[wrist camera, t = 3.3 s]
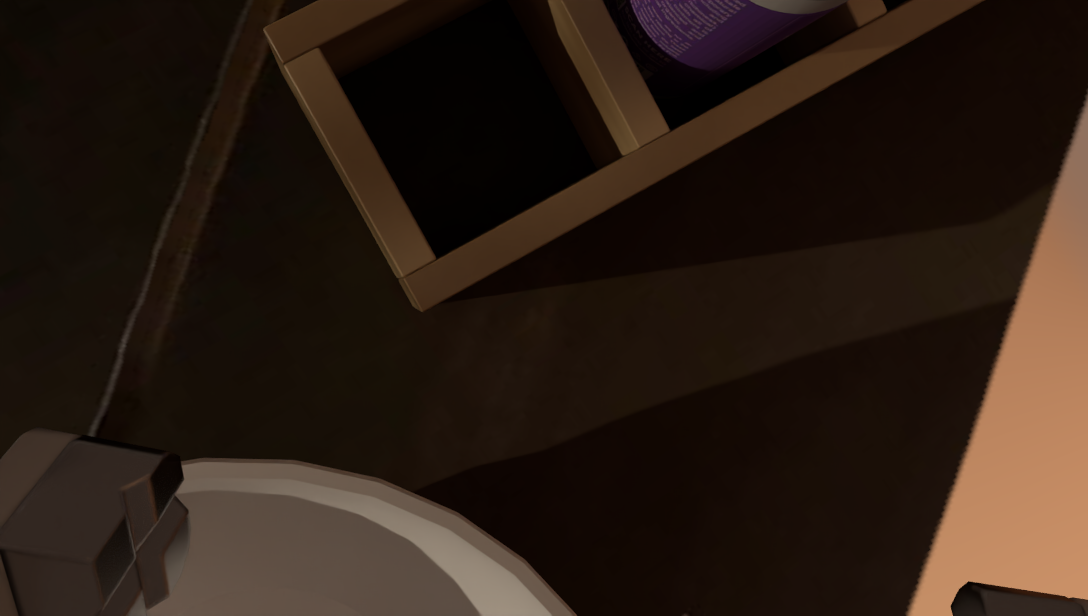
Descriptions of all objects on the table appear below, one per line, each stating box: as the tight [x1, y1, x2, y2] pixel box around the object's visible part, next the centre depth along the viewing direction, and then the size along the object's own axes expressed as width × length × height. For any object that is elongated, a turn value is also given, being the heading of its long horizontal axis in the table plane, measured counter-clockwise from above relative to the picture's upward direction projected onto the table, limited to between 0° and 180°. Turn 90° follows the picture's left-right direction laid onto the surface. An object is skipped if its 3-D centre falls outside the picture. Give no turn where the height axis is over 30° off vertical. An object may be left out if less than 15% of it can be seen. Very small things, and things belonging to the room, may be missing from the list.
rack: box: [263, 0, 985, 312], centre depth 29 cm, size 8×22×5 cm, turn 119°
